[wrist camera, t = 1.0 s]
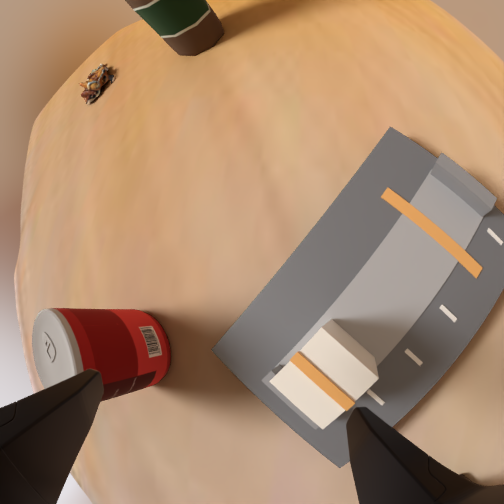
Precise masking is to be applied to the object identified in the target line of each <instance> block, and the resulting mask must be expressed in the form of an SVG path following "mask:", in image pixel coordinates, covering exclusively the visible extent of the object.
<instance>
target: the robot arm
mask: <svg viewBox="0 0 504 504" xmlns="http://www.w3.org/2000/svg"><path fill="white" fill-rule="evenodd" d="M103 391H104V388H103V382H102V377H101V373H100V372H99V371H97V370H94V369H87V370H85V371H83V372H81V373H79V374H77V375H74V376H72V377H70V378H68V379H66V380H64V381H61V382H59V383H57V384H55V385H53V386H50V387H48V388H46V389H44V390H41V391H39V392H37V393H35V394H32V395H30V396H28V397H26V398H24V399H21V400H19V401H17V402H14V403H12V404H9V405H7V406H4V407H1V408H0V504H56V503H57V500H58V498H59V496H60V493H61V491H62V489H63V486H64V484H65V482H66V479H67V477H68V475H69V473H70V470H71V468H72V466H73V464H74V462H75V460H76V457H77V455H78V453H79V451H80V449H81V447H82V445H83V443H84V441H85V438H86V436H87V434H88V432H89V430H90V428H91V426H92V423H93V420H94V418H95V415H96V412H97V409H98V406H99V404H100V401H101V398H102V395H103ZM346 430H347V439H348V448H349V457H350V463H351V468H352V472H353V477H354V481H355V486H356V490H357V495H358V500H359V504H504V485H496V486H481V485H477V484H475V483H473V482H472V481H471V480H469V479H468V478H467V477H465V476H464V475H458V474H456V473H455V472H453V471H451V470H450V469H448V468H446V467H445V466H443V465H442V464H440V463H439V462H437V461H436V460H435V459H433V458H432V457H430V456H428V454H426V453H425V452H424V451H422V450H421V449H420V448H418V447H417V446H416V445H414V444H413V443H412V442H410V441H409V440H408V439H406V438H405V437H404V436H402V435H401V434H400V433H399V432H397V431H396V430H395V429H393V428H392V427H391V426H390V425H388V424H387V423H386V422H385V421H383V420H382V419H381V418H380V417H378V416H377V415H376V414H375V413H373V412H372V411H371V410H370V409H368V408H367V407H364V406H363V407H355V408H354V409H353V411H352V413H351V415H350V417H349V419H348V421H347V423H346Z"/></svg>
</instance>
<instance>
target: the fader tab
mask: <svg viewBox="0 0 504 504" xmlns="http://www.w3.org/2000/svg"><path fill="white" fill-rule="evenodd" d="M378 379H379V377H378V371H377V366H376V361H375V357H374V356H373V355H372V354H371V353H369V352H368V351H367V350H366V349H365V348H364V347H363V346H362V345H360V344H359V343H358V342H357V341H356V340H355V339H354V338H353V337H351V336H350V335H349V334H348V333H347V332H346V331H345V330H344V329H342V328H341V327H340V326H339V325H338V324H337V323H336V322H335V321H333V320H332V319H331V320H330V321H328V322H327V323H326V324H325V325H324V326H322V327H321V328H320V329H319V331H318V332H317V333H316V334H315V335H314V336H313V337H312V338H311V339H310V340H309V341H308V343H307V344H306V345H305V346H304V347H303V348H302V349H301V350H300V351H298V352H297V353H296V354H295V355H294V356H293V357H292V358H291V359H290V361H289V362H288V363H287V364H286V365H285V366H284V367H283V368H282V369H281V370H280V371H279V372H278V373H277V374H276V375H275V376H274V377H273V378H272V379H271V380H270V381H269V382H270V383H271V384H272V385H274V386H275V387H276V388H277V389H278V390H279V391H280V392H281V393H282V394H283V395H284V396H285V397H286V398H288V399H289V400H290V401H291V402H292V403H293V404H294V405H295V406H296V407H297V408H299V409H300V410H301V411H302V412H303V413H304V414H305V415H306V416H308V417H309V418H310V419H311V420H312V421H313V422H314V423H316V424H317V425H318V426H319V427H320V428H321V429H324V428H325V427H326V426H328V425H329V424H330V423H331V422H332V421H334V420H335V419H336V418H337V417H338V416H339V415H341V414H342V413H343V412H344V411H345V410H346V411H348V410H349V409H350V408H351V407H352V406H353V405H354V404H355V401H356V400H357V399H358V398H359V397H360V396H361V395H363V394H364V393H365V392H366V391H367V390H368V389H369V388H370V387H371V386H372V385H373V384H374V383H375V382H376V381H377V380H378Z"/></svg>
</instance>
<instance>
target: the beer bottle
mask: <svg viewBox="0 0 504 504" xmlns="http://www.w3.org/2000/svg"><path fill="white" fill-rule="evenodd" d="M125 1H126V2H127V3H128V4H129V5H130V6H131V7H132V9H134V11H135V12H137V13H138V14H139V15H140V16H141V17H142V18H143V19H144V20H145V21H146V22H147V23H148V24H149V25H150V26H151V27H152V28H153V29H154V30H155V31H156V32H157V33H158V34H159V35H160V36H161V37H162V38H163V39H164V41H165V42H166V43H167V44H168V45H169V46H170V47H171V48H172V49H173V50H174V51H176V52H177V53H178V54H179V55H186V56H195V55H197V54H199V53H201V52H203V51H205V50H207V49H209V48H211V47H213V46H214V45H215V43H216V42H217V41H218V40H219V39H220V38H221V37H222V35H223V34H224V30H223V27H222V25H221V22H220V21H219V19H218V17H217V15H216V14H215V13H214V11H213V10H212V8H211V7H210V6H209V4H208V3H207V1H206V0H125Z"/></svg>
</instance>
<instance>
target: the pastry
mask: <svg viewBox="0 0 504 504" xmlns="http://www.w3.org/2000/svg"><path fill="white" fill-rule="evenodd" d="M100 66H101V67H98V68H97V69H95V70H93V71H92V73H90V75H89V76H88V78H87V79H88V81H86V82H85V83H79V84H80V86H82V87H84V88H85V90H84V91H83V93H82V94H81V96H82V97H83V98H84V99H85V101H86V103H87V104H88V103H89V102H92V101H93V100H94V99H95V98H96V97H98V96H99V94H100V93H99V92H100V89H101V86H103V85H104V84H105V83H106V82H107V81H108V80H111V83H113V82H114V80H115V77H114V75H108V74H107V72H106V71H107V70H108V68H107V67H105V65H103V64H100Z"/></svg>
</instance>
